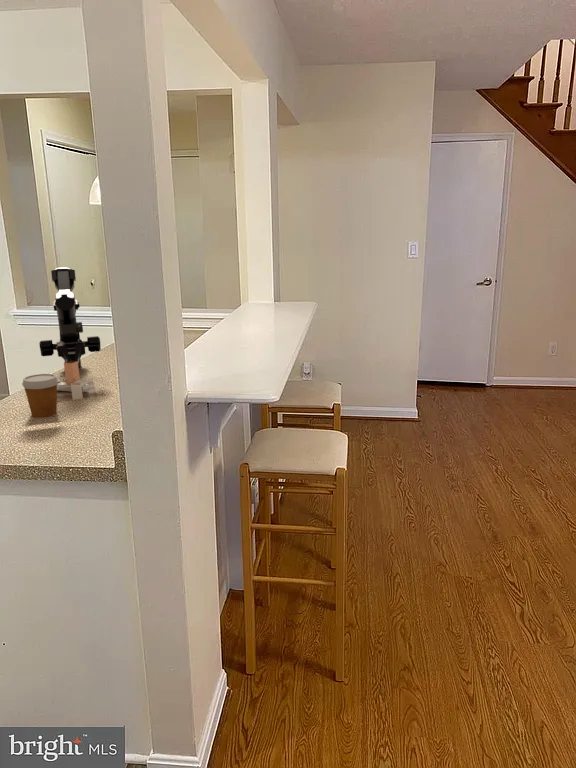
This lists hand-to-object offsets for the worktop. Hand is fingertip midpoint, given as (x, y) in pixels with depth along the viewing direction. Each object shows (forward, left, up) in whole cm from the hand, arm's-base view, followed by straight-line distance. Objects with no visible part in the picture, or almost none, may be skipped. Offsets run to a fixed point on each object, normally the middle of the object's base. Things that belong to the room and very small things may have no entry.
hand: (73, 367), depth 187 cm
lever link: (+1, -3, -7) cm, 8 cm away
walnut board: (0, -2, -9) cm, 9 cm away
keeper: (+8, +1, -7) cm, 11 cm away
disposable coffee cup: (+23, -10, -9) cm, 26 cm away
